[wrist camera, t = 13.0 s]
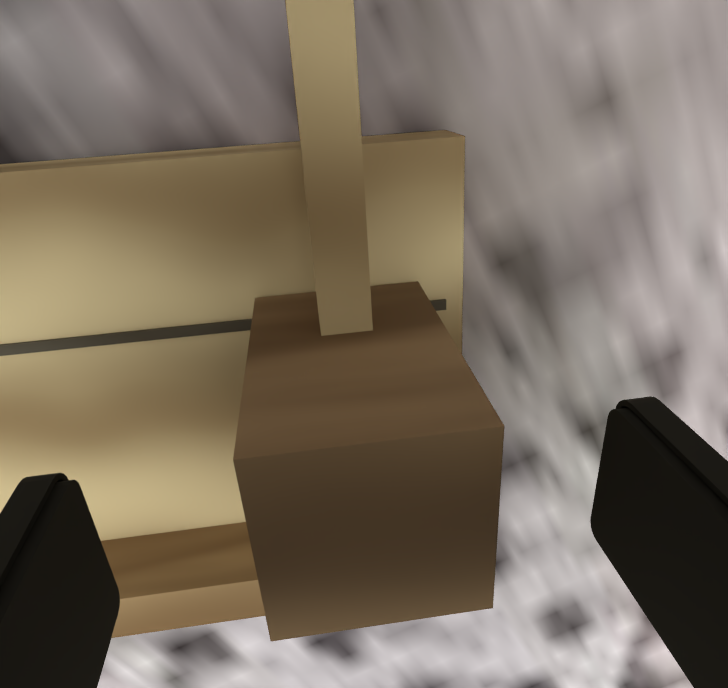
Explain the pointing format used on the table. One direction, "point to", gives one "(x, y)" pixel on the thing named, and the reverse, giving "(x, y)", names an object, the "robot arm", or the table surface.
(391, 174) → the board
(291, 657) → the table surface
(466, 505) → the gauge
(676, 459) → the robot arm
